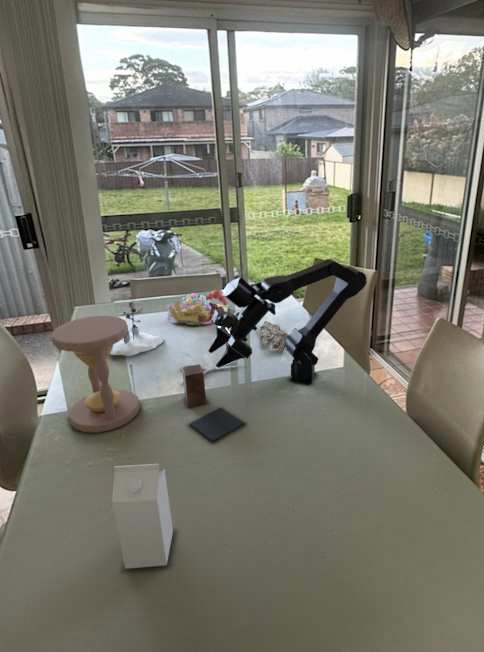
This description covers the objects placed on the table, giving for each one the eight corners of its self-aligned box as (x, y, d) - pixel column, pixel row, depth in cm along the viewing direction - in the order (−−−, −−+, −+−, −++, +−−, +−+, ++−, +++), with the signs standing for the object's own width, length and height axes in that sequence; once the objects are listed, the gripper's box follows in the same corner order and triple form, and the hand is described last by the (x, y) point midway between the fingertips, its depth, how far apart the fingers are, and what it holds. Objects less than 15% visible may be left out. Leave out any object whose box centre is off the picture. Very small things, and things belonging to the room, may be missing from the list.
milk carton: (134, 534, 82) (119, 452, 75) (173, 532, 83) (162, 449, 76) (124, 569, 76) (107, 482, 69) (166, 566, 76) (154, 479, 69)
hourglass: (71, 403, 123) (53, 321, 114) (136, 390, 129) (124, 311, 120) (69, 440, 108) (48, 349, 99) (143, 423, 114) (130, 335, 105)
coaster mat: (220, 409, 120) (220, 407, 120) (244, 424, 113) (244, 422, 113) (189, 425, 113) (189, 423, 113) (213, 442, 107) (212, 440, 107)
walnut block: (202, 394, 127) (199, 364, 123) (206, 403, 123) (203, 372, 119) (185, 398, 125) (181, 367, 122) (188, 407, 121) (184, 375, 117)
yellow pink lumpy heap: (221, 327, 172) (220, 305, 169) (162, 327, 172) (159, 305, 169) (230, 304, 195) (229, 284, 192) (177, 304, 196) (175, 285, 192)
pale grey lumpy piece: (298, 344, 151) (290, 333, 149) (274, 363, 150) (265, 352, 148) (277, 323, 174) (270, 314, 172) (256, 339, 173) (249, 330, 171)
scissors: (177, 367, 141) (236, 354, 148) (177, 369, 141) (237, 356, 148) (183, 382, 132) (246, 369, 139) (183, 385, 132) (247, 371, 139)
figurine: (138, 361, 144) (134, 313, 140) (93, 353, 149) (88, 307, 145) (172, 341, 162) (170, 299, 158) (131, 336, 168) (127, 294, 163)
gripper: (220, 289, 125) (184, 330, 126) (238, 311, 109) (197, 359, 109) (247, 311, 131) (213, 350, 131) (268, 335, 115) (229, 380, 115)
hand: (213, 359), depth 122 cm, fingers open, 9 cm apart
